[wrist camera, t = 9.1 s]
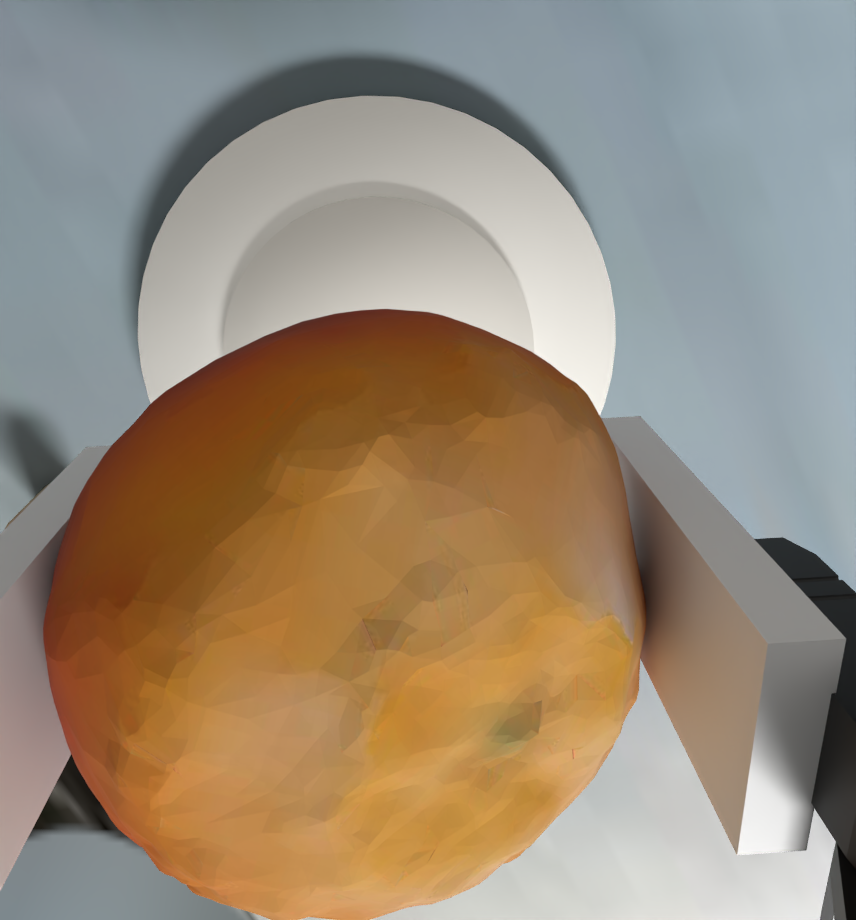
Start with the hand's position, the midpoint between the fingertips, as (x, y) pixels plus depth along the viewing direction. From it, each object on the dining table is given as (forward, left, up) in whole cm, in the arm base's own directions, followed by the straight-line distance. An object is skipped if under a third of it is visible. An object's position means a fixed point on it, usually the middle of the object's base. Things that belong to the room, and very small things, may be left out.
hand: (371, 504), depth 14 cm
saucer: (0, 0, -11) cm, 11 cm away
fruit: (0, 0, 0) cm, 0 cm away
